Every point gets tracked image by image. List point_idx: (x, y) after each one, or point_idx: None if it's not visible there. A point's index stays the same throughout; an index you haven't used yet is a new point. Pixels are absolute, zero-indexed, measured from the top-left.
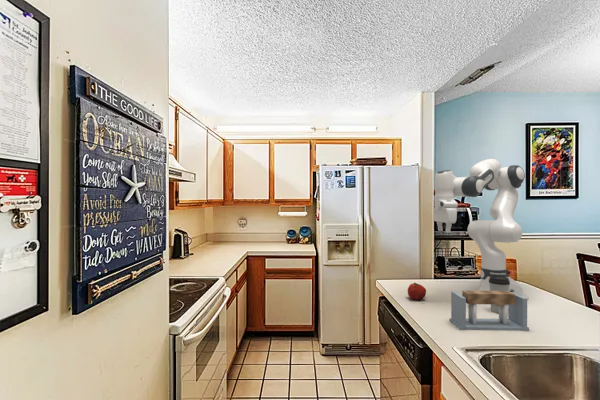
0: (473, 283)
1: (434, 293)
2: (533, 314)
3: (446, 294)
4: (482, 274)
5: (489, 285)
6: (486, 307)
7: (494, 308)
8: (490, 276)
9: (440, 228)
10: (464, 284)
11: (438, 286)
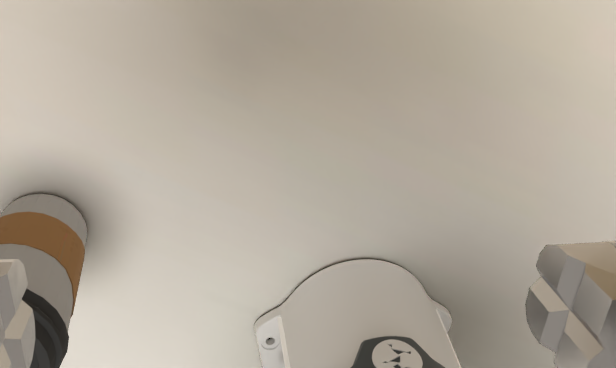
0: None
1: (439, 3)
2: None
3: (405, 78)
4: (387, 356)
5: None
6: (118, 194)
7: (12, 205)
8: None
9: (579, 311)
10: None
11: (598, 107)
